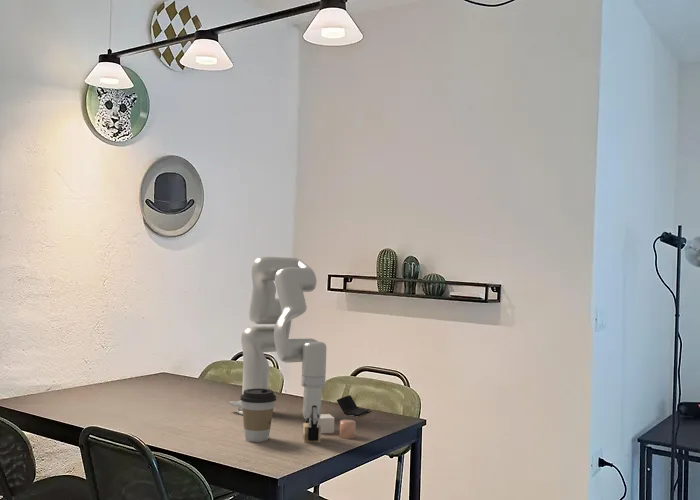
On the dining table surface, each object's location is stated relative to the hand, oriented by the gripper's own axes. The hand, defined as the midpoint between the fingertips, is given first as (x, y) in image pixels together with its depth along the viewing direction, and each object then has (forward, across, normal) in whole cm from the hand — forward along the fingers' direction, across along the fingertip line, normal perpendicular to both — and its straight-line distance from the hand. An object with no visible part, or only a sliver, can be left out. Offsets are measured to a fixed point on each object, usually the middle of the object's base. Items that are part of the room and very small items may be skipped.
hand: (311, 436), depth 215 cm
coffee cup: (+1, -2, -17) cm, 17 cm away
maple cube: (+1, 0, 0) cm, 1 cm away
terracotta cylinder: (+1, -4, +12) cm, 13 cm away
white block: (+1, -12, +5) cm, 13 cm away
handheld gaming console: (+2, -40, +20) cm, 45 cm away
